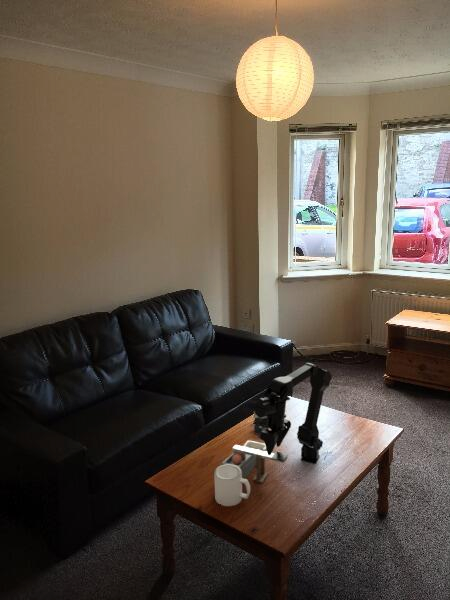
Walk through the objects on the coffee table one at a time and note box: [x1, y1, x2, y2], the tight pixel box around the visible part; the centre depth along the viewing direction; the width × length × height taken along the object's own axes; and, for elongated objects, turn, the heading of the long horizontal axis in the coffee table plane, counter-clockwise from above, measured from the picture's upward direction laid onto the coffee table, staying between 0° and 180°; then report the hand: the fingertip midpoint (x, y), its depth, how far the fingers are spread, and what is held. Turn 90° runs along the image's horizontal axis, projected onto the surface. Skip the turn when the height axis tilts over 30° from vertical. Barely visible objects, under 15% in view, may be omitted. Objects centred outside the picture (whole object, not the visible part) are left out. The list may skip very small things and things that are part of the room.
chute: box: [221, 449, 258, 479], centre depth 192 cm, size 8×18×8 cm, turn 153°
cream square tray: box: [242, 439, 267, 452], centre depth 205 cm, size 10×10×4 cm
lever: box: [231, 444, 289, 464], centre depth 187 cm, size 22×5×6 cm, turn 63°
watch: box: [253, 411, 270, 434], centre depth 225 cm, size 6×8×11 cm
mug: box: [213, 464, 251, 507], centre depth 176 cm, size 14×10×11 cm
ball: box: [232, 454, 242, 464], centre depth 189 cm, size 4×4×4 cm
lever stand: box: [252, 449, 269, 484], centre depth 188 cm, size 4×6×11 cm, turn 153°
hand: (273, 450), depth 184 cm, fingers open, 9 cm apart
